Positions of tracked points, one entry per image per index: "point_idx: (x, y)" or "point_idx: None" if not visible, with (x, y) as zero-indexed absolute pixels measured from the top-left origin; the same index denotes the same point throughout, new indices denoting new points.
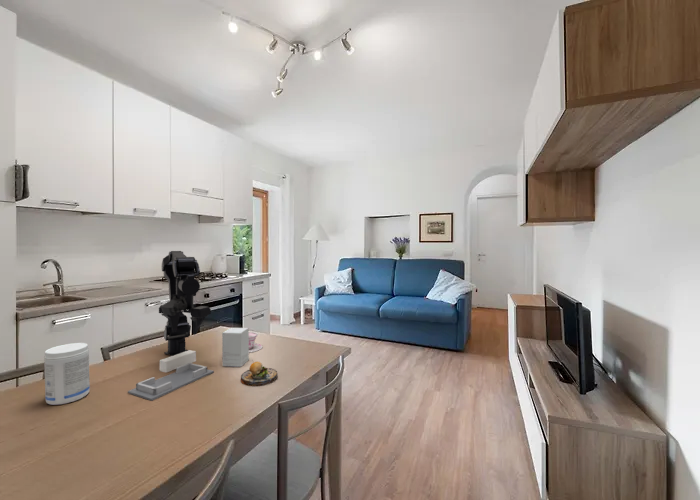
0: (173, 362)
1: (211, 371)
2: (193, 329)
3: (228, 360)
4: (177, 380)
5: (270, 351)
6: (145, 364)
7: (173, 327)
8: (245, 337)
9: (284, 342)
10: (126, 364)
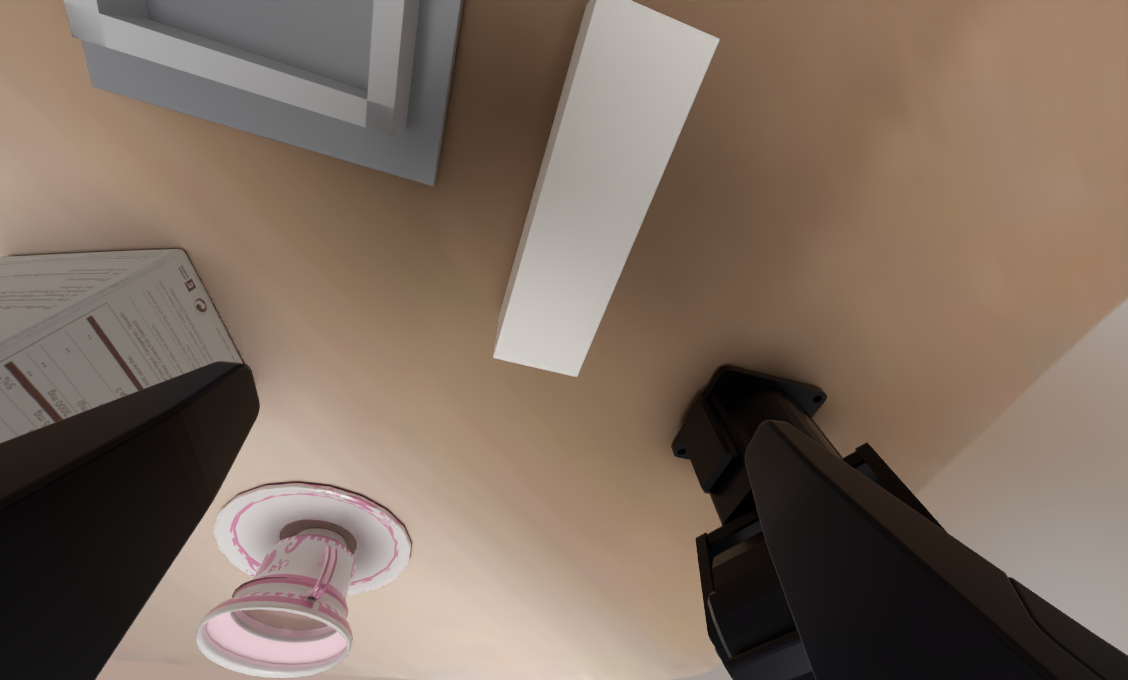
0: (565, 101)
1: (92, 61)
2: (100, 430)
3: (73, 270)
4: None
5: None
6: (885, 181)
7: (824, 490)
8: None
9: (189, 628)
10: (1056, 154)
